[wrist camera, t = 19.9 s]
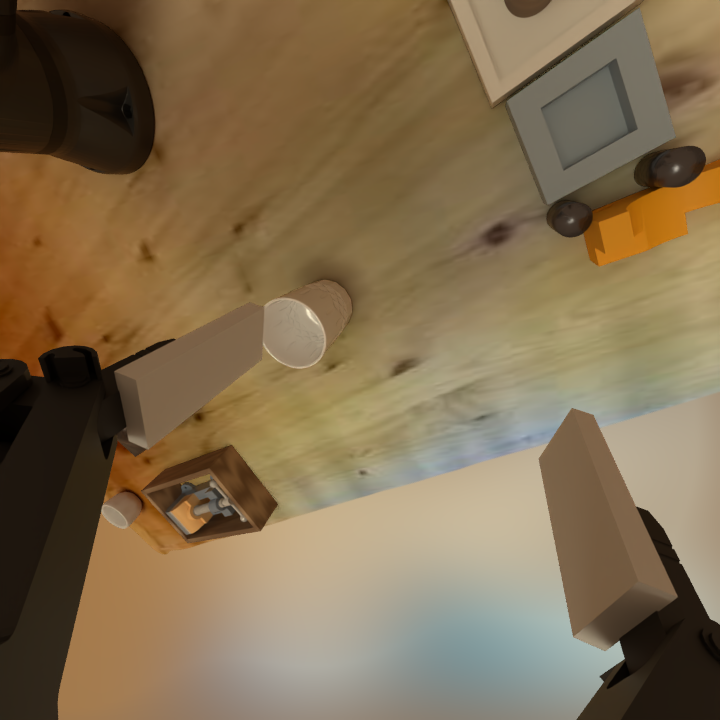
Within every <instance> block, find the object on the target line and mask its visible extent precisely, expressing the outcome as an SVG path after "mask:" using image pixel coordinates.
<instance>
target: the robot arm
mask: <svg viewBox="0 0 720 720" xmlns="http://www.w3.org/2000/svg"><path fill="white" fill-rule="evenodd" d="M153 135H154V115H153V107H152V102H151V97H150V93H149V90H148V87H147V83H146V81H145V78H144V76H143V73H142V71H141V69H140V67H139V65H138V63H137V61H136V59H135V58H134V56H133V54H132V53H131V51H130V50H129V48H128V47H127V46H126V44H125V43H124V42H123V41H122V40H121V39H120V37H119V36H118V35H117V34H116V33H114V32H113V31H112V30H111V29H110V28H108V27H107V26H106V25H104V24H102V23H101V22H98V21H96V20H94V19H91V18H89V17H87V16H84V15H82V14H79V13H76V12H73V11H68V10H53V11H50V12H47V11H40V10H17V0H0V152H12V153H31V154H46V155H51V156H54V157H57V158H60V159H63V160H66V161H70V162H73V163H76V164H79V165H81V166H83V167H85V168H87V169H89V170H91V171H94V172H97V173H102V174H129V173H132V172H134V171H136V170H137V169H138V168H140V167H141V166H142V164H143V163H144V162H145V160H146V159H147V157H148V155H149V152H150V150H151V146H152V142H153ZM264 309H265V307H262V306H259V305H256V304H253V303H250V302H249V303H247V304H245V305H243V306H241V307H239V308H237V309H235V310H233V311H231V312H230V313H228V314H226V315H224V316H222V317H220V318H218V319H216V320H214V321H212V322H210V323H208V324H206V325H204V326H202V327H200V328H198V329H196V330H194V331H192V332H190V333H188V334H186V335H184V336H182V337H180V338H178V339H177V340H176V339H170V340H166V341H161V342H158V343H156V344H154V345H152V346H150V347H147V348H146V349H145V350H141V351H139V352H137V353H136V354H135V355H131V356H129V357H127V358H125V359H123V360H121V361H119V362H117V363H115V364H113V365H111V366H109V367H107V368H105V369H103V370H101V367H100V363H99V359H98V354H97V352H96V351H95V350H94V349H93V348H89V347H86V346H65V347H60V348H56V349H52V350H50V351H48V352H46V353H43V354H42V355H41V356H40V357H39V358H38V359H39V362H40V365H41V368H42V371H43V374H44V377H38V376H31V375H30V372H29V370H28V367H27V364H26V363H24V362H23V361H20V360H15V359H0V720H58V704H57V703H58V693H59V688H60V683H61V679H62V675H63V670H64V666H65V662H66V658H67V653H68V649H69V645H70V641H71V637H72V632H73V628H74V623H75V620H76V615H77V611H78V607H79V602H80V598H81V594H82V590H83V586H84V582H85V577H86V573H87V569H88V565H89V560H90V556H91V552H92V548H93V543H94V539H95V535H96V531H97V526H98V522H99V518H100V514H101V510H102V505H103V501H104V497H105V493H106V488H107V484H108V480H109V476H110V471H111V467H112V463H113V459H114V455H115V450H116V446H117V436H116V434H117V433H119V432H120V431H122V430H123V429H125V428H126V430H127V435H128V440H129V441H130V442H132V443H134V444H136V445H139V446H141V447H143V448H146V449H150V448H151V447H152V446H153V445H155V444H156V443H157V442H158V441H160V440H161V439H162V438H163V437H165V436H166V435H167V434H168V433H170V432H171V431H172V430H174V429H175V428H176V427H177V426H179V425H180V424H181V423H182V422H184V421H185V420H186V419H187V418H189V417H190V416H191V415H192V414H194V413H195V412H196V411H197V410H199V409H200V408H201V407H203V406H204V405H205V404H206V403H208V402H209V401H210V400H211V399H213V398H214V397H215V396H216V395H218V394H219V393H220V392H221V391H223V390H224V389H225V388H226V387H228V386H229V385H230V384H232V383H233V382H234V381H235V380H237V379H238V378H239V377H240V376H242V375H243V374H244V373H245V372H247V371H248V370H249V369H250V368H252V367H253V366H254V365H255V364H257V363H258V362H259V361H261V360H262V346H263V327H264ZM539 463H540V468H541V473H542V478H543V484H544V488H545V494H546V498H547V504H548V509H549V514H550V520H551V525H552V530H553V535H554V540H555V545H556V551H557V555H558V560H559V566H560V571H561V576H562V581H563V587H564V592H565V597H566V602H567V607H568V612H569V617H570V623H571V628H572V633H573V637H574V638H577V639H579V640H581V641H584V642H586V643H588V644H590V645H592V646H595V647H597V648H599V649H601V650H604V651H606V650H607V649H609V648H610V647H611V646H613V645H614V644H615V643H617V642H618V641H620V644H621V647H622V651H623V654H624V657H625V659H624V660H623V661H621V662H620V663H618V664H617V665H616V666H614V667H613V668H611V669H610V670H608V671H607V672H605V673H604V674H603V675H601V676H600V678H601V679H602V680H603V681H604V683H603V684H602V686H601V687H600V688H599V690H598V691H597V693H596V694H595V695H594V697H593V698H592V699H591V701H590V702H589V703H588V705H587V706H586V708H585V709H584V710H583V712H582V713H581V714H580V716H579V717H578V718H577V720H720V625H719V624H718V623H717V622H715V621H713V620H711V619H710V618H709V616H708V614H707V612H706V610H705V608H704V606H703V604H702V603H701V601H700V599H699V597H698V595H697V593H696V591H695V589H694V587H693V585H692V583H691V581H690V579H689V577H688V575H687V573H686V572H685V570H684V568H683V566H682V564H680V563H679V561H680V560H679V558H678V556H677V554H676V552H675V550H674V549H672V544H671V543H670V540H669V538H668V537H667V535H666V533H665V531H664V529H663V528H662V527H661V525H660V524H659V523H658V522H657V521H656V519H655V518H654V517H653V516H652V515H651V514H650V512H649V511H647V510H644V509H641V508H639V507H636V506H635V504H634V501H633V499H632V497H631V495H630V493H629V491H628V489H627V487H626V484H625V482H624V480H623V478H622V476H621V474H620V471H619V469H618V467H617V465H616V463H615V461H614V458H613V456H612V454H611V452H610V450H609V448H608V446H607V444H606V441H605V439H604V437H603V435H602V433H601V431H600V428H599V426H598V424H597V422H596V420H595V418H594V415H592V414H589V413H586V412H582V411H579V410H576V409H573V408H572V409H571V410H570V412H569V413H568V415H567V416H566V418H565V419H564V421H563V423H562V424H561V426H560V427H559V429H558V430H557V432H556V433H555V435H554V436H553V438H552V439H551V441H550V442H549V444H548V445H547V447H546V449H545V450H544V452H543V453H542V455H541V456H540V458H539Z"/></svg>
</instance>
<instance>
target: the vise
mask: <svg viewBox="0 0 720 720" xmlns="http://www.w3.org/2000/svg"><path fill="white" fill-rule="evenodd" d="M210 478H211V481H208V482H205V483H203V484H200V485H197V486H195V485H193V484H192V483H189V482H185V483H184V484H183V485H182V486H181V489H182V494H181V495H180V496H179V497H178V498H177V499H176V500H175V501H174V502H173V503H172V504H171V505H170V506H169V507H168V508H167V510H166V511H165V513H166V514H167V515H168V516H169V517H170V518H171V519H172V520H173V521H174V522H175V523H176V524H177V526H178V527H179V528H180V529H181V530H182V531H183V532H184V533H185V534H186V535H188V534H192V533H194V532H196V531H197V530H198V529H200V528H201V527H202V526H203V525H204V524H205V523H207V522H208V521H209V520H210V518H211V517H212V516H213V515H215V514H219V513H222V514H223V515H224V516H225V517H226V516H230V515H233V513H234V512H235V511H237V512H238V514H239V515H240V520H241V521H242V522H246V521H247V519H246V518H245V516H244V515H243V514H242V513H241V512H240V510H239V509H238V508H237V507H236V505H235V504H234V503H233V502H232V501H231V499H230V498H229V497H228V496H227V494H226V493H225V492H224V491H223V490H222V488H221V487H220V486H219V485H218V484H217V482H216V481H215V480H214V479H213V477H212V476H211V475H210Z"/></svg>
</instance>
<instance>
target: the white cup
mask: <svg viewBox="0 0 720 720" xmlns="http://www.w3.org/2000/svg"><path fill="white" fill-rule="evenodd" d="M264 307H265V309H264V327H263V346H264V347H265V349H266V350H267V351H268V353H269V354H270V355H271V356H272V357H273V358H274V359H276V360H277V361H279V362H280V363H282V364H284V365H286V366H289V367H292V368H307V367H310V366H312V365H314V364H316V363H317V362H318V361H319V360H320V359H321V358H322V356H323V355H324V354H325V353H326V351H327V350H328V349H329V348H330V346H331V345H332V344H333V343H334V341H335V340H336V339H337V337H338V336H339V335H340V333H341V332H342V330H343V329H344V327H345V326H346V325H347V324H348V322H349V320H350V317H351V314H352V302H351V299H350V297H349V295H348V294H347V292H346V290H345V289H344V288H343V287H341V286H340V285H339V284H337V283H336V282H333V281H329V280H325V279H324V280H320V281H316V282H313V283H311V284H307V285H305V286H302V287H300V288H297V289H295V290H293V291H291V292H289V293H287V294H284V295H282V296H280V297H278V298H276V299H273V300H271V301H270V302H268V303H267V304H266V305H265V306H264Z"/></svg>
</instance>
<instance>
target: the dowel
mask: <svg viewBox="0 0 720 720" xmlns="http://www.w3.org/2000/svg"><path fill="white" fill-rule="evenodd" d="M551 1H552V0H504V2H505V5H506V7H507V9H508V10H509V11H510V13H511V14H513V15H514V16H516V17H520V18H528V17H531V16H534V15H536V14H538V13H539V12H541V11H542V10H543V9H544V8H546V7H547V5H548V4H549V3H550V2H551Z"/></svg>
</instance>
